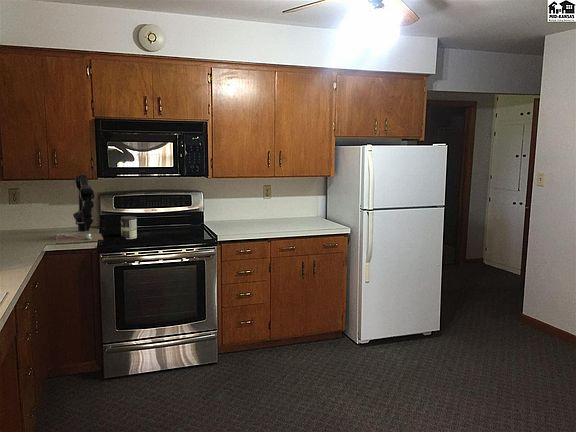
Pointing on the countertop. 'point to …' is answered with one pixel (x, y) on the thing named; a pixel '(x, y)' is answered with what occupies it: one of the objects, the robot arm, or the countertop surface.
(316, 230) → the countertop surface
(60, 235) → the base
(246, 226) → the countertop surface
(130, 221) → the coffee can
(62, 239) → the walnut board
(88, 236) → the tong arm
